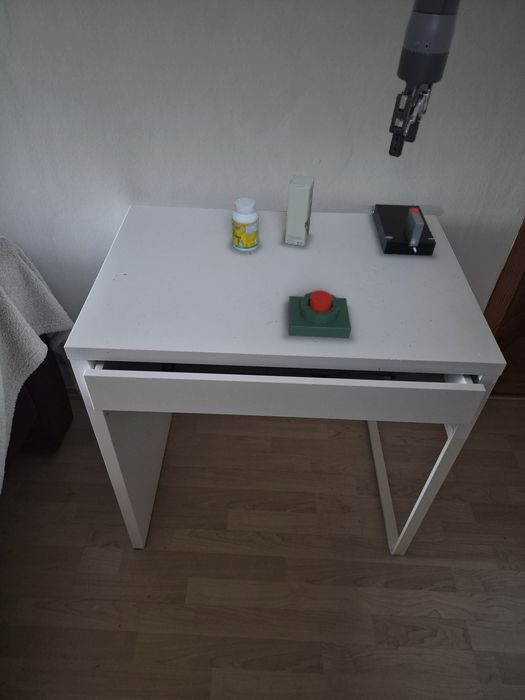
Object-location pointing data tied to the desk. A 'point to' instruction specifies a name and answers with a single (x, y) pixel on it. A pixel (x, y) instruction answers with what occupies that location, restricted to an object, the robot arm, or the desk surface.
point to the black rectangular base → (400, 231)
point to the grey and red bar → (413, 227)
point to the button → (320, 301)
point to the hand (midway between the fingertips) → (401, 148)
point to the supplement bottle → (245, 225)
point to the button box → (318, 318)
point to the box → (299, 210)
